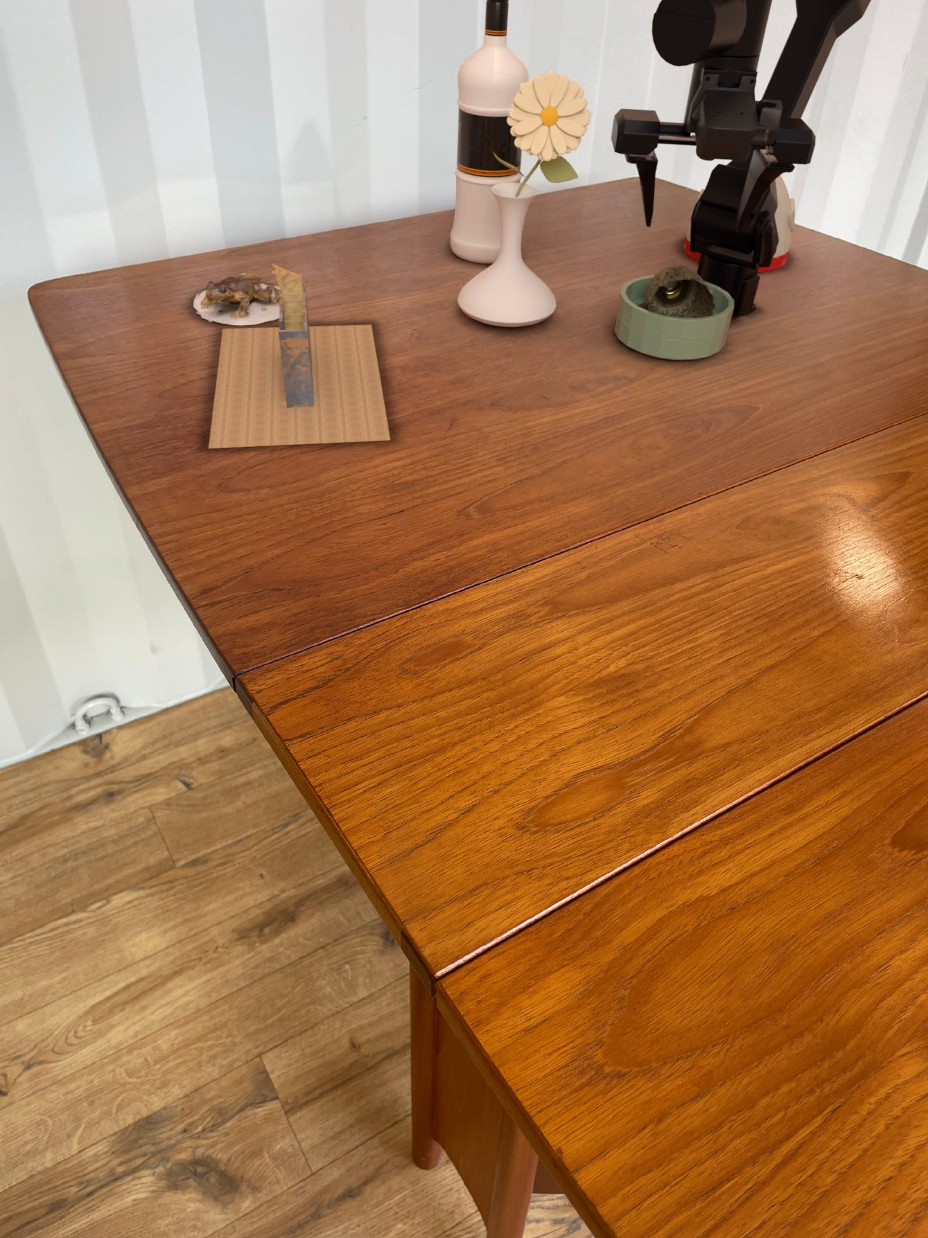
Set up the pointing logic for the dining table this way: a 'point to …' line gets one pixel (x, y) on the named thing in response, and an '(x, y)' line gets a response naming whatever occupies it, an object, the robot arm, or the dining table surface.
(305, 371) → the ruin model on sheet
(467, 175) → the vodka
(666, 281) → the cup
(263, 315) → the frog figurine
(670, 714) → the dining table surface
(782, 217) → the kitchen timer
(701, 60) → the robot arm
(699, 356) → the bowl
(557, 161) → the flower in vase
